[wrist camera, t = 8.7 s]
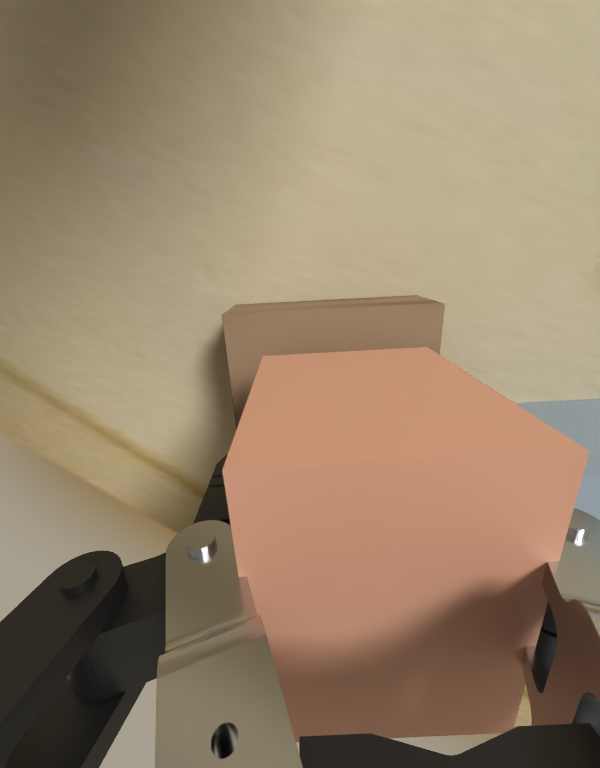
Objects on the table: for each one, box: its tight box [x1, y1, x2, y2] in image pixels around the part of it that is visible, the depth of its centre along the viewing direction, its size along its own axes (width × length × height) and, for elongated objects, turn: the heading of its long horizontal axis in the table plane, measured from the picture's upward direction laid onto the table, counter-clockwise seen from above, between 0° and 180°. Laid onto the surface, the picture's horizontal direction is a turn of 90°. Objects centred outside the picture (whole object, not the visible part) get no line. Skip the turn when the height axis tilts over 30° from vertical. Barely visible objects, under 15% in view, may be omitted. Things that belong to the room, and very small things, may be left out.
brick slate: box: [515, 399, 600, 520], centre depth 15 cm, size 6×5×6 cm
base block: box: [222, 296, 444, 429], centre depth 15 cm, size 8×8×3 cm
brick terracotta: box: [222, 347, 590, 742], centre depth 8 cm, size 6×5×6 cm
